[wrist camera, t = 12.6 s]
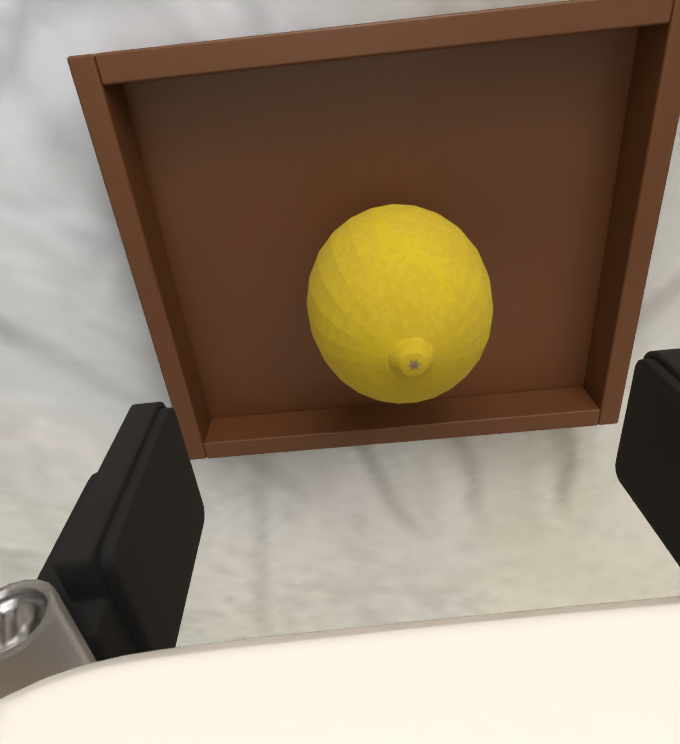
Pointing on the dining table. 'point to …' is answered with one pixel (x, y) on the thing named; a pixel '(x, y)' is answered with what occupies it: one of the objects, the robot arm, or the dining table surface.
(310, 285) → the lemon
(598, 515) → the dining table surface
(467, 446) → the dining table surface
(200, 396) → the tray
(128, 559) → the robot arm
